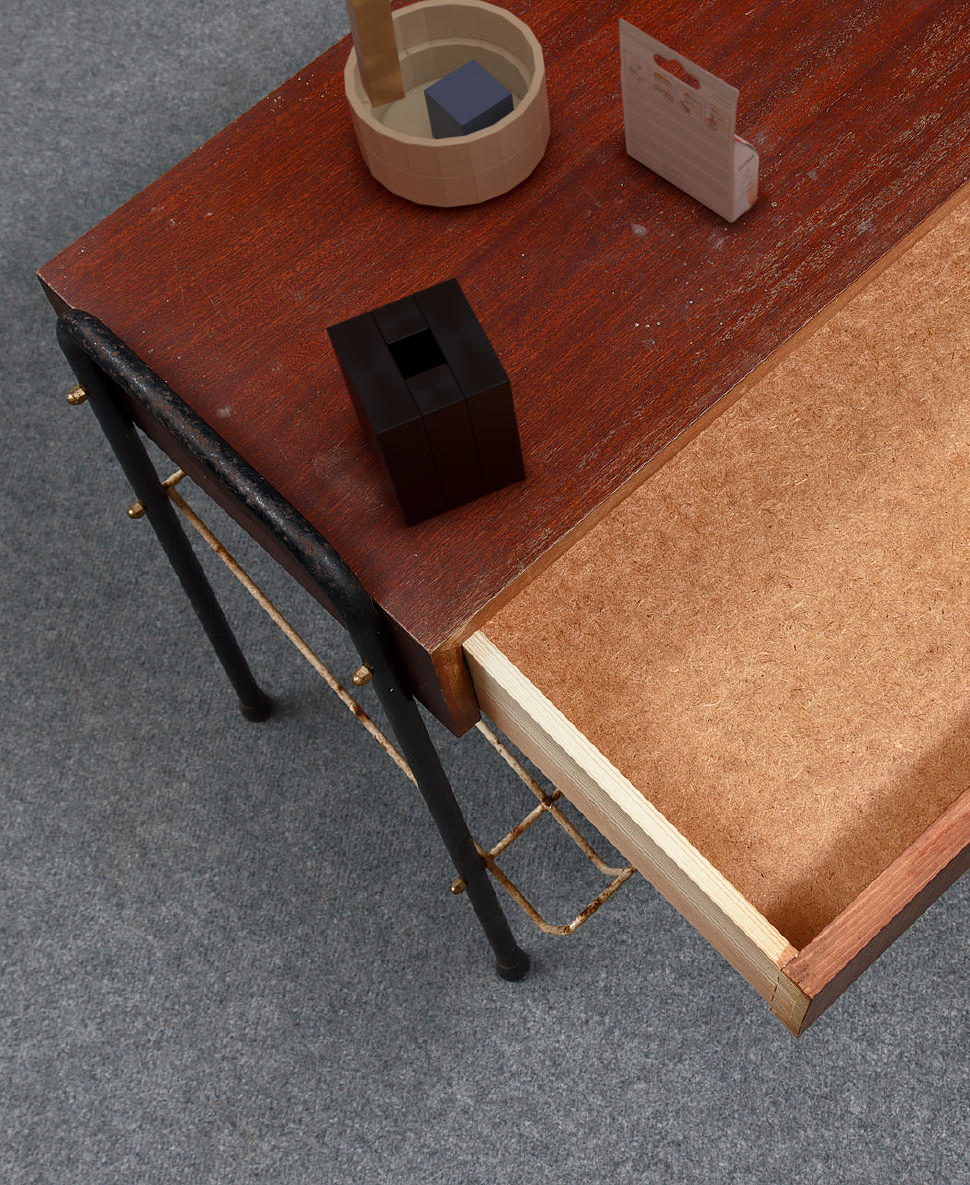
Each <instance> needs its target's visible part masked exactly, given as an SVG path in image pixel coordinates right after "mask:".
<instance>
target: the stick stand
mask: <svg viewBox="0 0 970 1185" xmlns="http://www.w3.org/2000/svg"><path fill="white" fill-rule="evenodd" d="M325 330H326V333H327V335H328V338H329V341H330V345H331V347H332V349H333V353H334V354H335V358H336V361H337V364H338V366H339V370H340V372H341V375H342V378H343V381H344V385H345V386H346V390H347V392H348V395H349V398H350V401H351V404H352V406H353V409H354V412H355V415H356V418H357V421H358V424H359V426H360V429H361V433H362V434H363V435H364V438H365V440H366V442H367V444H368V447H369V449H370V451H371V453H372V455H373V457H374V460H375V462H376V464H377V467H378V468H379V471H380V473H381V474H382V477H383V479H384V482H385V483H386V485H387V488H388V490H389V492H390V494H391V496H392V498H393V500H394V502H395V505H396V507H397V509H398V511H399V514H400V515H401V518H402V520H403V521H404V524H405V526H406V528H407V529H410V528H412V527H415V526H417V525H419V524H421V523H424V522H426V521H429V520H431V519H433V518H436V517H438V516H440V515H443V514H445V513H447V512H450V511H452V510H455V509H457V508H459V507H462V506H464V505H466V504H469V503H471V502H474V501H476V500H479V499H481V498H483V497H485V496H489V495H491V494H493V493H495V492H498V491H500V490H502V489H505V488H507V487H510V486H512V485H515V484H516V483H520V482H521V481H524V480H526V479H527V476H526V470H525V463H524V457H523V451H522V445H521V438H520V433H519V432H520V431H519V427H518V420H517V414H516V408H515V403H514V402H515V401H514V396H513V389H512V388H513V387H512V383H511V379H510V376H509V375H508V373H507V371H506V369H505V367H504V365H503V363H502V362H501V360H500V358H499V356H498V354H497V352H496V351H495V349H494V347H493V345H492V343H491V340H489V337H488V336H487V334H486V332H485V330H484V328H483V326H482V325H481V323H480V321H479V319H478V317H477V315H476V313H475V311H474V309H473V307H472V306H471V304H470V302H469V300H468V298H467V296H466V294H465V293H464V291H463V288H462V287H461V285H460V283H459V282H458V279H457V278H456V277H455V276H454V277H452V278H448V279H446V280H444V281H441V282H438V283H436V284H433V285H430V286H429V287H426V288H423V289H421V290H419V291H416V292H413V293H412V294H409V295H406V296H404V297H401V298H398V299H396V300H393V301H391V302H389V303H386V304H384V305H381V306H378V307H376V308H373V309H371V310H368V311H366V312H363V313H361V314H358V315H355V316H353V317H350V318H348V319H345V320H342V321H340V322H338V323H335V324H332V325H330V326H328V327H326V329H325Z"/></svg>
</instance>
